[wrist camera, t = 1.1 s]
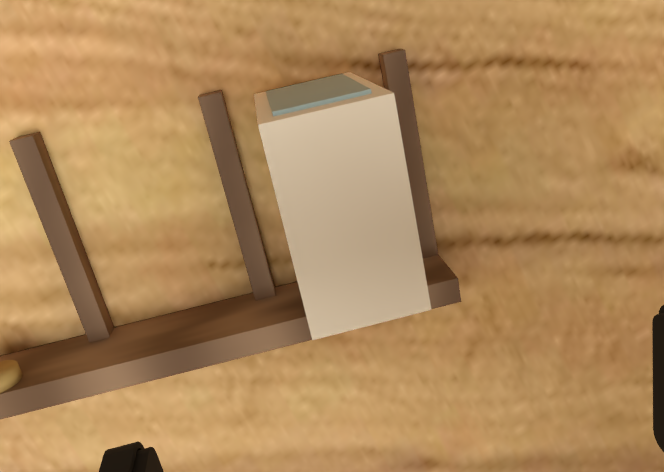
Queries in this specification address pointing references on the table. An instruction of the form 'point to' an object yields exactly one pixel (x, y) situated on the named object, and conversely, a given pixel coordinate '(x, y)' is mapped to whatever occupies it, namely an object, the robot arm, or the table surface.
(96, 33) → the table surface
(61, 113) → the table surface
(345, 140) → the cream block blue label
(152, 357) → the pegged rail
